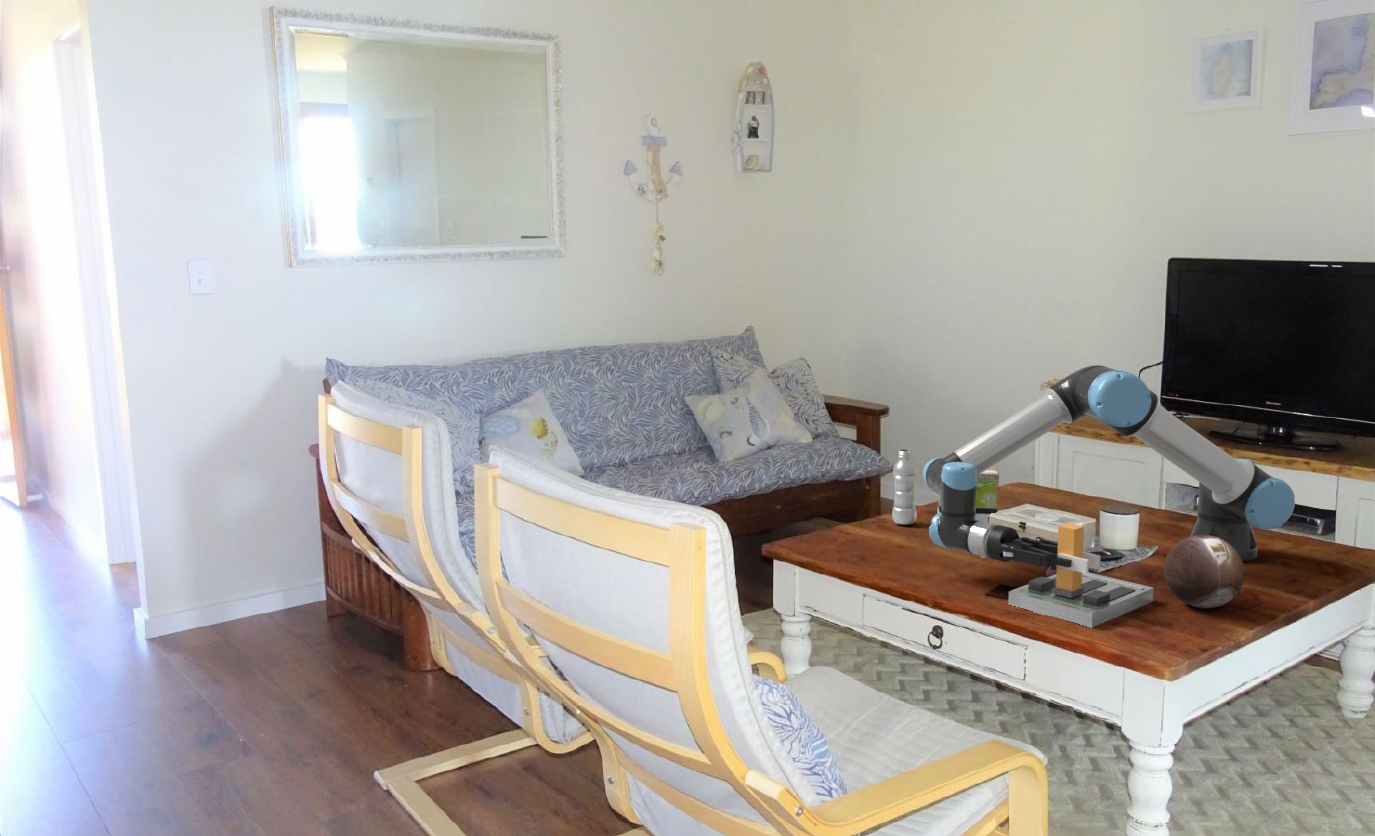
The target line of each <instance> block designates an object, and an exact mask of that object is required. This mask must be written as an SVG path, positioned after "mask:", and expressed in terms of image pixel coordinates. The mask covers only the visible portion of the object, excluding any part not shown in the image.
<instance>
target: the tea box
mask: <svg viewBox="0 0 1375 836" xmlns="http://www.w3.org/2000/svg"><path fill="white" fill-rule="evenodd" d="M999 481H1000V474H999V472H998V470H997V468H996V466H992V467H990V468H988V469H987V470H985V471H984V472H982V473H980V474H979V475H977V489H976V514H975V520H979V521H983V522H988V517H989V515H990V514H991V513H996V512H997V513H998V508H999V507H998V506H999V505H998V504H999V483H1000V482H999ZM938 513H941V496H940V495H939V494H937V514H938Z"/></svg>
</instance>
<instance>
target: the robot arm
mask: <svg viewBox="0 0 1375 836" xmlns="http://www.w3.org/2000/svg"><path fill="white" fill-rule="evenodd" d="M1045 389H1046V390H1045V392H1044V395H1043V396H1041V397H1040V398H1039V399H1037V400H1035V401H1034V402H1031V404H1029V405H1027V406H1025V407H1024V408H1022V409H1021V410H1019V411H1017V412H1015V414H1013V415H1011V416H1009V417H1008V418H1006V419H1005V420H1003V421H1001V422H1000V423H998V424H997V425H995V426H993V427H991V429H989V430H987V431H985V432H984V433H982V434H981V435H978V437H976V438H974V439H972V440H971V441H970V442H967V443H966V444H965V445H963V446H962V447H960V448H957V450H954V452H953V451H952V453H949V454H948V455H946V456H945V457H936V458H931V459H930V460H929V461H927V462H926V464H925V465H924V468H923V470H922V477H923V479H924V482H925V483H926V485H927V486H928V488H929V489H930V490H931V491H933V492H935V493H936V494H937V495H938V494H939V495H940V496H941V513H938V512H937V514H935V515H934V516H933V517H932V519H931V523H930V525H929V527H928V532H929V538H930V539H931V542H933V543H934V544H935V545H937V546H940V547H943V548H946V549H949V550H954V551H959V552H963V553H968V554H970V555H971V554H972V555H976V556H980V558H981V559H983V560H985V558H988V559H992V560H995V561H1000V562H1003V563H1008V562H1010V561H1011V562H1012V561H1014V562H1017V563H1018V562H1019V563H1023V564H1026V565H1027V564H1028V565H1031V566H1036V567H1041V568H1044V569H1045V568H1046V569H1048V568H1049V567H1051V570H1056V565H1058V566H1057V567H1061V568H1065V569H1069V570H1074V571H1078V572H1082V573H1086V574H1087V573H1088V572H1089V571H1090V570H1089V568H1090V569H1095V570H1100V569H1101V555H1098V554H1095V553H1090V552H1086V551H1083V558H1079V557H1075V556H1070V555H1066V554H1061V553H1059V554H1058V557H1057V552H1058V541H1054V540H1050V539H1046V538H1044V537H1041V536H1036V537H1035V539H1032V538H1030V537H1027V536H1020V535H1019V533H1018V532H1017V530H1016V529H1015V528H1013V527H1010V526H1005V525H1001V524H1000V525H999V524H998V523H997V524H993V523H988V522H983V521H979V520H975V514H976V489H977V475H979V474H980V473H982V472H984V471H985V470H987V469H988V468H990V467H994V466H995V465H996V464H999V463H1000V462H1002V461H1004V460H1005V459H1006V458H1008V457H1009V456H1011V455H1013V454H1014V453H1017V452H1018V451H1019V450H1021V449H1023V448H1024V447H1027V445H1030V444H1031V443H1032V442H1033V443H1034V441H1037V440H1038V439H1039V438H1041V437H1042V436H1044V435H1046V434H1047V433H1049V432H1050V431H1052V430H1054V429H1056V428H1057V427H1059V426H1061V425H1062V424H1069V425H1070V424H1072V423H1073V422H1075V421H1077V420H1079V419H1081V418H1085V417H1091V418H1093V419H1095V420H1096V419H1097V420H1098V421H1100V422H1101V423H1103V424H1105V426H1107V427H1108V428H1110V429H1111V430H1113V431H1114V432H1116V433H1117V434H1119V435H1120V436H1122V438H1130V437H1135V438H1136V439H1138V440H1139V441H1141V442H1142V443H1143V444H1144V445H1146V446H1147V447H1149V448H1150V449H1152V450H1153V451H1155V452H1156V453H1157V454H1159V455H1160V456H1161V457H1163V458H1165V459H1166V460H1167V461H1169V462H1170V463H1172V464H1173V465H1175V466H1176V467H1177V468H1179V469H1180V470H1182V471H1183V472H1184V473H1186V474H1187V475H1188V476H1190V477H1191V478H1193V479H1195V480H1196V481H1197V482H1198V501H1197V517H1196V518H1197V519H1196V521H1195V524H1194V527H1193V529H1192V530H1191V533H1190V535H1189V537H1190V536H1194V535H1211V536H1215V537H1218V538H1220V539H1222V540H1224V541H1226V542H1227V543H1229V544H1230V545H1231V546H1232V547H1233V548H1234V549H1235V550H1236V551H1237V553H1238V554H1239V556H1240V558H1241V560H1242V562H1245V561H1246V562H1247V561H1251V560H1255V559H1256V558H1257V557H1258V545H1257V541H1256V537H1255V533H1254V531H1253V528H1255V529H1261V530H1273V529H1276V528H1279V527H1281V526H1283V525H1284V524H1285V523H1286V522H1287V521H1288V520H1289V518H1290V517H1291V516H1292V515H1293V512H1294V511H1295V510H1294V509H1295V506H1296V505H1295V504H1296V502H1295V501H1296V500H1295V496H1296V495H1295V492H1294V491H1293V489H1292V487H1291V485H1289V484H1288V483H1287V482H1285V480H1283V479H1280V478H1277V477H1276V478H1275V477H1273V476H1272V475H1270V474H1269V473H1267V472H1266V471H1264V470H1263V469H1261V468H1260V467H1258V466H1257V465H1256V464H1255V463H1256V462H1255V461H1254V460H1253V459H1249V458H1236V457H1235V458H1234V457H1233V456H1231V455H1230V454H1228V453H1227V452H1225V451H1224V450H1223V449H1222V448H1220V447H1219V446H1217V445H1216V444H1215V443H1213V442H1212V441H1210V440H1208V439H1207V438H1206V437H1205V436H1203V435H1202V434H1200V433H1199V432H1198V431H1196V430H1195V429H1193V427H1191V426H1189V425H1188V424H1186V423H1185V422H1184V421H1182V420H1181V419H1179V418H1178V417H1176V416H1175V415H1174V414H1173V413H1171V412H1169V411H1168V410H1167V409H1165V408H1164V407H1163V406H1161V405H1160V403H1159V400H1160V399H1159V397H1158V395H1157V394H1156V393H1155V392H1153V391H1152V390H1151V389H1149V387H1148V385H1147V384H1146V383H1145V382H1144V381H1143V380H1142V379H1141V377H1139V376H1137V375H1135V374H1133V373H1132V372H1129V371H1125V370H1120V369H1119V370H1117V369H1115V368H1111V367H1108V366H1104V365H1099V364H1097V365H1094V364H1093V365H1090V366H1085V367H1083V368H1080V369H1078V370H1076V371H1074V372H1072V373H1070V374H1069V375H1067V376H1065V377H1063V378H1062V379H1061V380H1059V381H1057V382H1056V383H1054V384H1052V385H1051V386H1049V387H1047V388H1045ZM1048 565H1049V566H1048Z"/></svg>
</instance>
